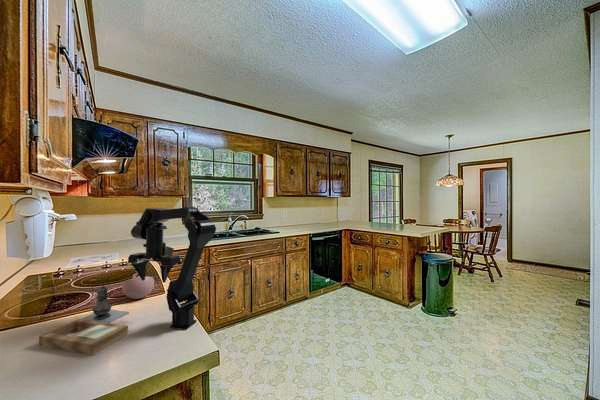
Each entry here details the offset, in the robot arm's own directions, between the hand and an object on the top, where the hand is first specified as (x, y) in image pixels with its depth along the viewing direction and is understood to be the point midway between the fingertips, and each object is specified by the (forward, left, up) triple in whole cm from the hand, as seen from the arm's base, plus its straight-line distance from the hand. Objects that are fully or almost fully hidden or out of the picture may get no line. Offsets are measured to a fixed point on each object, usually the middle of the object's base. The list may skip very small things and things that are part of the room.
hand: (153, 281), depth 101 cm
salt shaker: (+16, +7, -13) cm, 21 cm away
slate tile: (+16, +7, -13) cm, 22 cm away
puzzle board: (+7, +20, -13) cm, 25 cm away
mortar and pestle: (+19, -13, -13) cm, 26 cm away
